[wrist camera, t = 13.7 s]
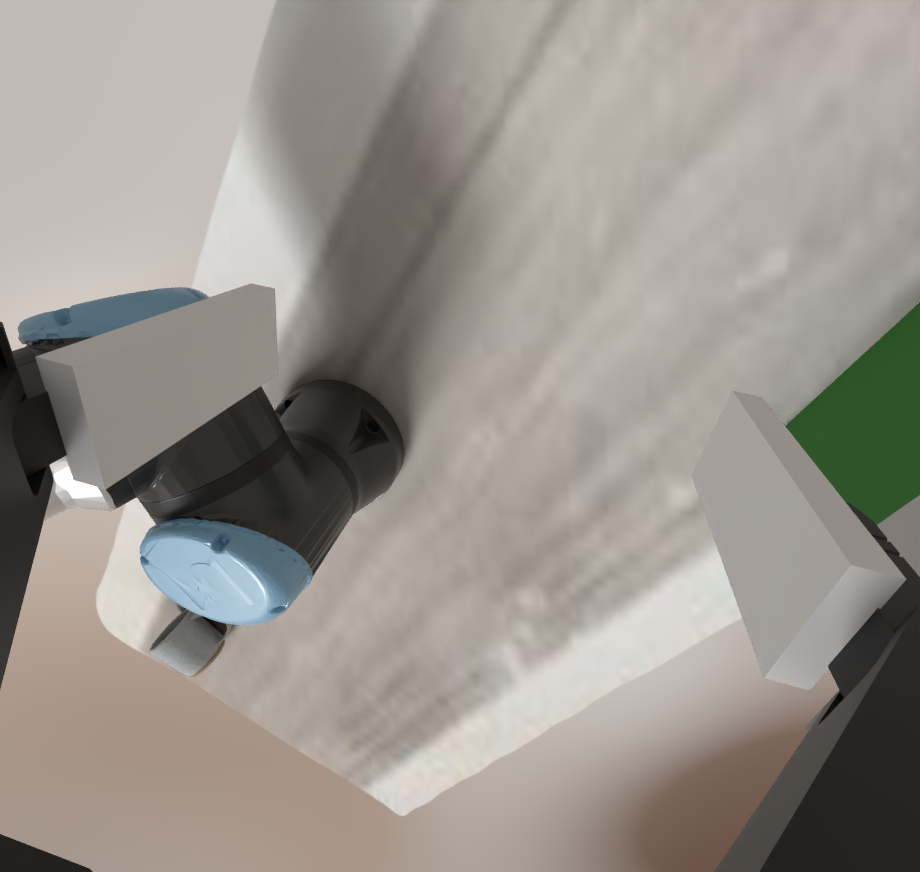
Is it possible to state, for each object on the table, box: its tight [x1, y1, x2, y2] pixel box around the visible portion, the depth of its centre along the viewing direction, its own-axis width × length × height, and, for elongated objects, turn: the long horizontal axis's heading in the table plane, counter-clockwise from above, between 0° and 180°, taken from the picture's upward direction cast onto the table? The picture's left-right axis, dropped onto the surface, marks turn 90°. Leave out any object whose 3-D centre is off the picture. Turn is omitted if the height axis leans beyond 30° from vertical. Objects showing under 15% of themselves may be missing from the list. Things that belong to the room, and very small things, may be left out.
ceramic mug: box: [150, 609, 232, 677], centre depth 75 cm, size 11×8×8 cm
